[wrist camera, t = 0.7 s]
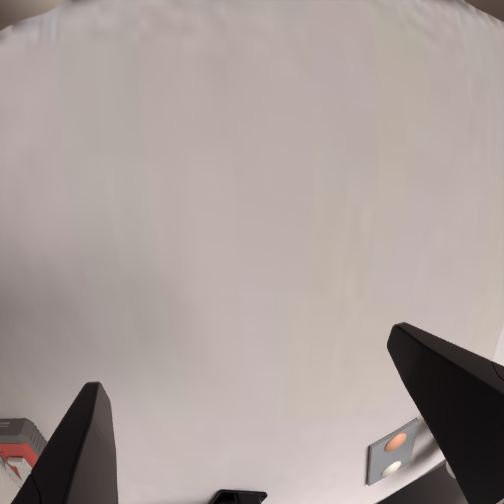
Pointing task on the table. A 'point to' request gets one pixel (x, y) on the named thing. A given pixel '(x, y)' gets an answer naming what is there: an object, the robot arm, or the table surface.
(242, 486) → the table surface
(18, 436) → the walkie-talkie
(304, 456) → the table surface
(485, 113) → the table surface
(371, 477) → the card
